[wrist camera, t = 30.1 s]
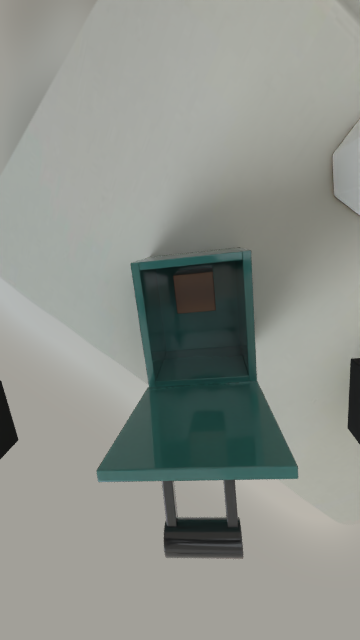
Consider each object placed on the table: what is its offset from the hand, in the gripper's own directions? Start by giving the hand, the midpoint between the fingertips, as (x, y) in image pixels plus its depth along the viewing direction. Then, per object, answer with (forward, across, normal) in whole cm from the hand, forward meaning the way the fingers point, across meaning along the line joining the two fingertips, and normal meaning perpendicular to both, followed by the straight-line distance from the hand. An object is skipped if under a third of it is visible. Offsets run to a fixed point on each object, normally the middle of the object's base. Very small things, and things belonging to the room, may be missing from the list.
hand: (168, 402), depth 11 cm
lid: (+11, 0, -8) cm, 14 cm away
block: (+28, 0, 0) cm, 28 cm away
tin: (+29, 0, -2) cm, 29 cm away
